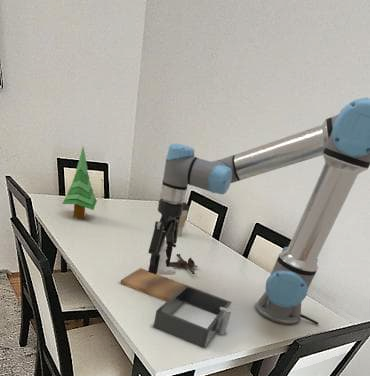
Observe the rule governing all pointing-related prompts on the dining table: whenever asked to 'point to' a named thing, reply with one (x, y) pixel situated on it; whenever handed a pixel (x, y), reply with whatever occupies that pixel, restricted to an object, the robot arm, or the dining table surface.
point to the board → (152, 284)
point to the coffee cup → (182, 218)
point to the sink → (187, 328)
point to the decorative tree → (81, 190)
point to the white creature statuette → (163, 263)
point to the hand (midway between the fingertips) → (159, 268)
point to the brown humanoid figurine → (183, 264)
